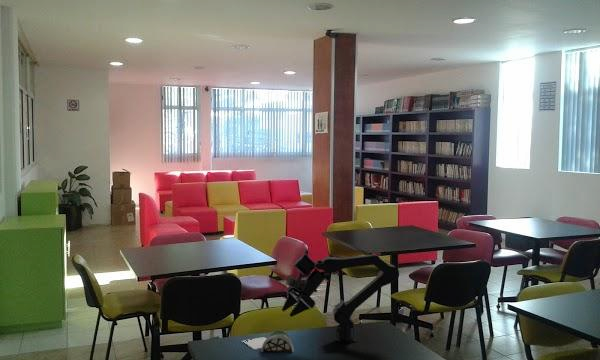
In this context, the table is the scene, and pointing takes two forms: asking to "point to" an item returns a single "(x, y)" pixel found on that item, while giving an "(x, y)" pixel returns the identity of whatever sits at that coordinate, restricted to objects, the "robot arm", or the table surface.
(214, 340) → the table surface
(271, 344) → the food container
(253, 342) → the mat
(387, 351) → the table surface
